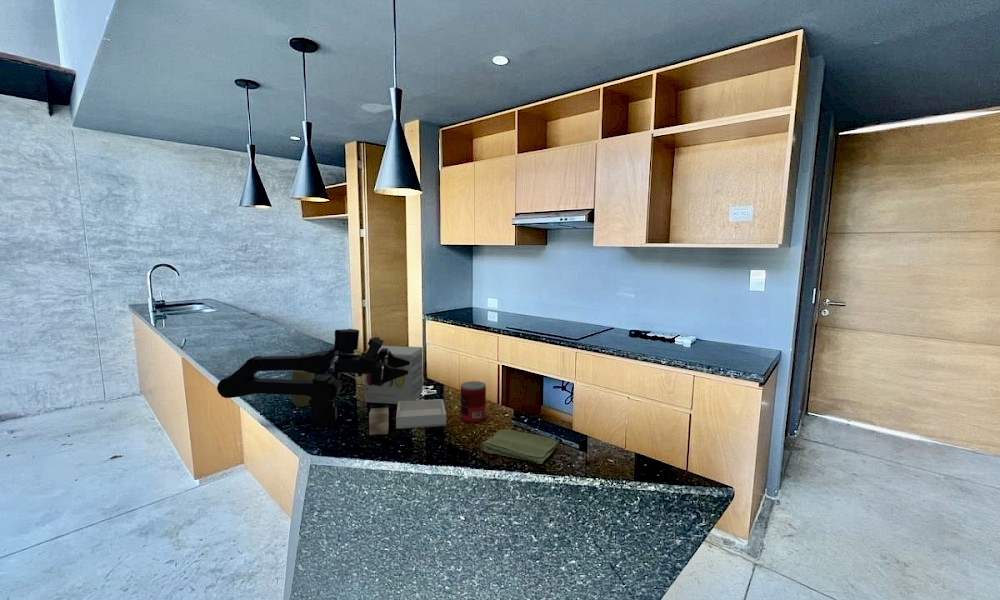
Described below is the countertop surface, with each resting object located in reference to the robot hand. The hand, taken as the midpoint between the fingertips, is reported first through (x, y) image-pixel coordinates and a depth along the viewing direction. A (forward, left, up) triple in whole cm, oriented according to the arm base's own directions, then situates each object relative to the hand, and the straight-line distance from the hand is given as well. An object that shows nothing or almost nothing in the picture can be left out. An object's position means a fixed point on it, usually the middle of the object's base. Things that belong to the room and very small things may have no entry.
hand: (408, 367), depth 127 cm
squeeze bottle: (-35, +20, -17) cm, 44 cm away
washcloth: (+29, -27, -17) cm, 43 cm away
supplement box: (-5, +22, -17) cm, 28 cm away
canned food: (+20, -3, -17) cm, 26 cm away
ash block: (-8, -8, -16) cm, 20 cm away
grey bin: (+4, 0, -16) cm, 17 cm away
